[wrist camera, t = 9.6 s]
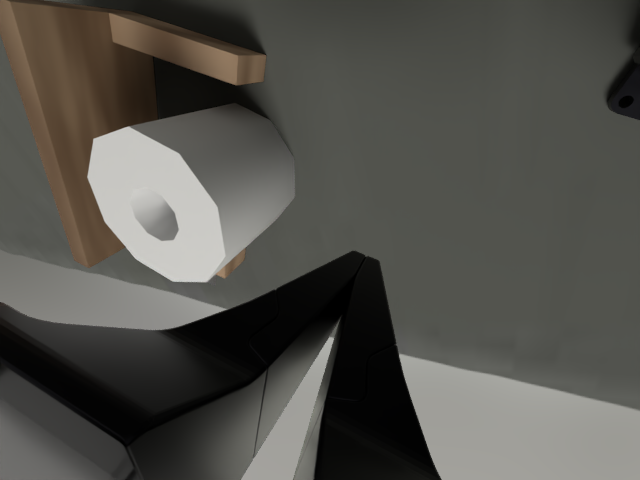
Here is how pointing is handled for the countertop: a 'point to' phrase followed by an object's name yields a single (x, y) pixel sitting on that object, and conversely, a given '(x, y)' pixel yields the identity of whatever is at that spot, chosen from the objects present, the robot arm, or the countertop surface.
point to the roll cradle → (100, 93)
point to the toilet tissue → (192, 188)
